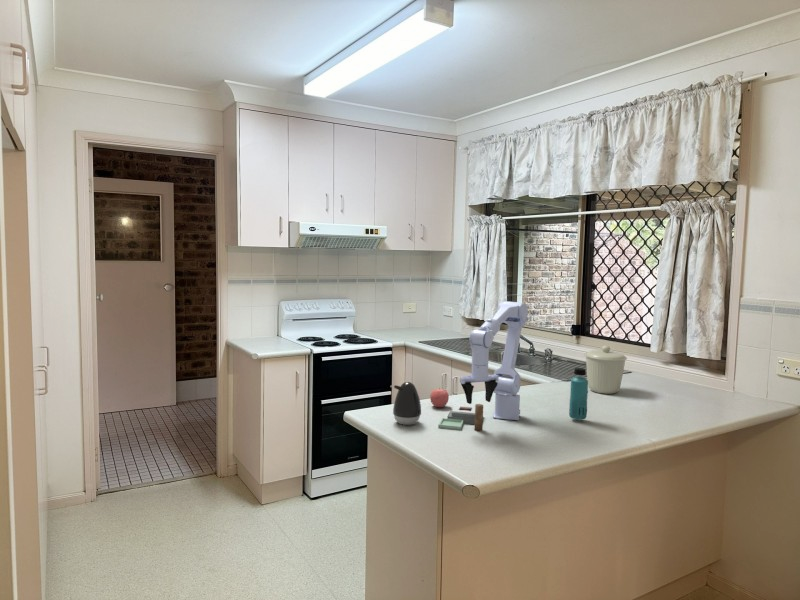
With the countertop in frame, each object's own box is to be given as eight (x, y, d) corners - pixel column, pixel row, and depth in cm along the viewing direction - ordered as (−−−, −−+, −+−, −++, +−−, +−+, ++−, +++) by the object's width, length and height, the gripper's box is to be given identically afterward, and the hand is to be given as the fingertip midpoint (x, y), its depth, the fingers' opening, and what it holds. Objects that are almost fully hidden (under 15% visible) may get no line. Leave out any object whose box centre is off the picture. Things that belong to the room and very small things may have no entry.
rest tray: (463, 423, 205) (463, 420, 204) (460, 430, 197) (460, 426, 197) (441, 421, 206) (441, 418, 206) (438, 427, 199) (438, 424, 198)
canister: (628, 390, 258) (631, 345, 256) (620, 398, 243) (623, 351, 241) (588, 384, 268) (590, 340, 266) (578, 392, 253) (580, 346, 251)
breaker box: (482, 416, 213) (482, 406, 212) (480, 424, 203) (480, 414, 203) (451, 413, 216) (451, 403, 215) (447, 421, 206) (447, 411, 206)
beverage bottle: (577, 424, 206) (580, 371, 204) (564, 419, 212) (567, 367, 210) (590, 422, 209) (593, 369, 207) (577, 417, 215) (580, 366, 213)
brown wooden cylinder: (482, 429, 198) (483, 404, 198) (482, 431, 196) (483, 406, 195) (474, 428, 199) (475, 403, 198) (474, 430, 196) (474, 405, 195)
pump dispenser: (388, 420, 206) (388, 379, 204) (413, 417, 210) (414, 377, 209) (398, 428, 197) (399, 386, 195) (425, 425, 201) (426, 384, 199)
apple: (447, 410, 220) (447, 390, 220) (428, 408, 222) (429, 389, 221) (449, 405, 228) (449, 385, 227) (431, 403, 229) (431, 384, 228)
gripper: (491, 360, 202) (490, 397, 203) (456, 363, 196) (454, 400, 198) (502, 364, 195) (500, 402, 197) (466, 367, 190) (464, 406, 191)
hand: (478, 402), depth 197 cm, fingers open, 7 cm apart
